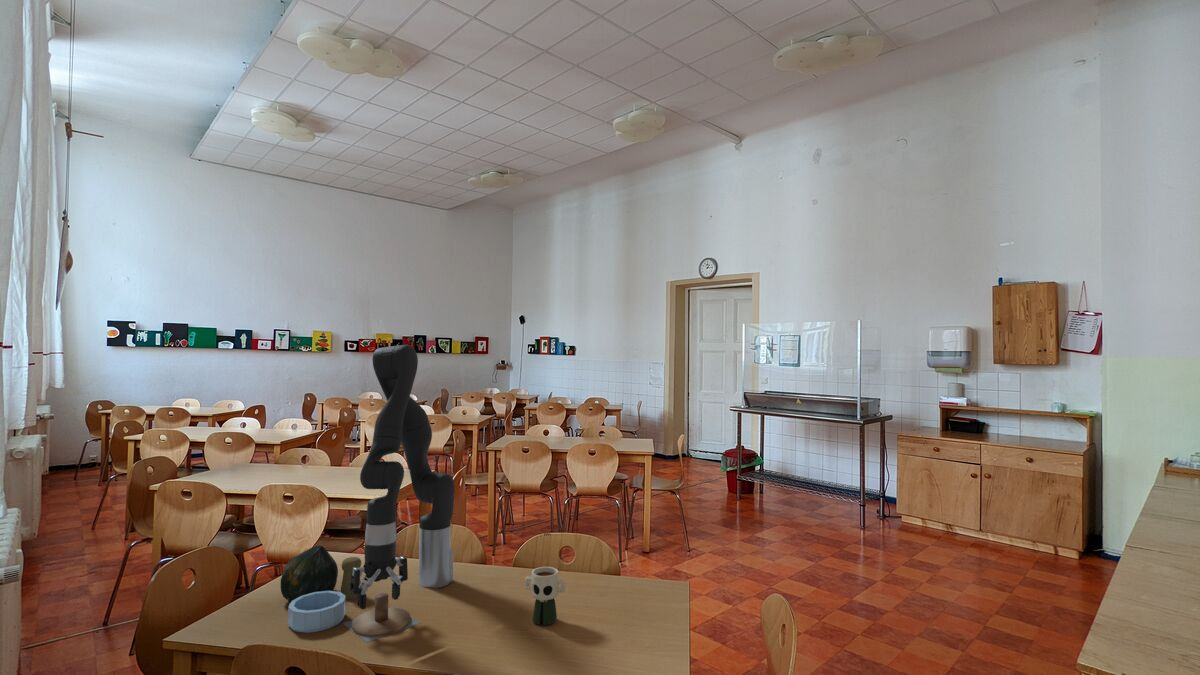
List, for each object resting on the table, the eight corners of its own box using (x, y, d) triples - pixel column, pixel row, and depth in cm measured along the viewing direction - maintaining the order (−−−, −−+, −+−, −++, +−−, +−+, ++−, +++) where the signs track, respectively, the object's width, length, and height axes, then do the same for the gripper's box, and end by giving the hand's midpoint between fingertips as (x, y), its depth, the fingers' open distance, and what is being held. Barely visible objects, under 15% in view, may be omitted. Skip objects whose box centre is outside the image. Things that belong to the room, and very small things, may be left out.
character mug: (520, 625, 152) (520, 574, 152) (528, 613, 159) (529, 565, 159) (561, 629, 150) (561, 578, 150) (568, 617, 157) (568, 568, 157)
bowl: (332, 607, 162) (333, 587, 162) (353, 623, 153) (353, 601, 153) (281, 623, 153) (281, 601, 153) (299, 640, 144) (300, 617, 144)
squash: (261, 580, 167) (289, 544, 164) (306, 565, 180) (332, 531, 177) (287, 622, 162) (316, 585, 159) (331, 602, 176) (358, 569, 173)
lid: (394, 606, 162) (394, 580, 162) (420, 623, 152) (420, 595, 152) (342, 623, 152) (342, 595, 152) (366, 642, 142) (367, 612, 142)
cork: (354, 602, 166) (354, 562, 166) (334, 600, 167) (335, 561, 167) (366, 593, 172) (367, 555, 172) (348, 591, 173) (348, 553, 173)
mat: (394, 608, 162) (394, 606, 162) (420, 625, 152) (420, 623, 152) (342, 625, 152) (342, 623, 152) (366, 644, 142) (366, 642, 142)
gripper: (400, 531, 160) (398, 592, 159) (346, 542, 150) (345, 607, 149) (413, 537, 155) (411, 600, 154) (359, 549, 145) (357, 616, 144)
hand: (379, 603), depth 152 cm, fingers open, 8 cm apart
